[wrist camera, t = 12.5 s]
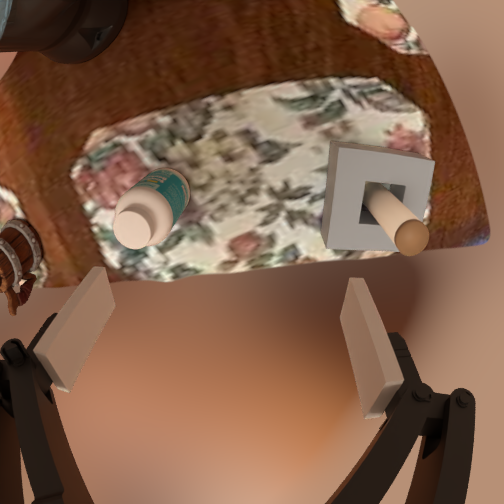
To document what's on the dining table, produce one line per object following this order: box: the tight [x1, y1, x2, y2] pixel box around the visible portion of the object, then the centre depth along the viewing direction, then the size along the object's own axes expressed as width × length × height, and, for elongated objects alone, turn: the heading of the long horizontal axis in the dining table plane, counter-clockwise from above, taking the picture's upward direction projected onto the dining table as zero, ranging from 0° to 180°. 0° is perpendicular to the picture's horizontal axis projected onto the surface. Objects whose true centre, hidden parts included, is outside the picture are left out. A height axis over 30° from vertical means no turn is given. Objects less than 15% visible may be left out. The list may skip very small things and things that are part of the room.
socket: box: [321, 141, 435, 252], centre depth 39 cm, size 14×14×5 cm
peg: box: [362, 181, 429, 256], centre depth 35 cm, size 4×4×15 cm
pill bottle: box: [113, 168, 190, 249], centre depth 37 cm, size 8×7×14 cm
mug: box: [0, 219, 42, 316], centre depth 43 cm, size 12×14×15 cm
